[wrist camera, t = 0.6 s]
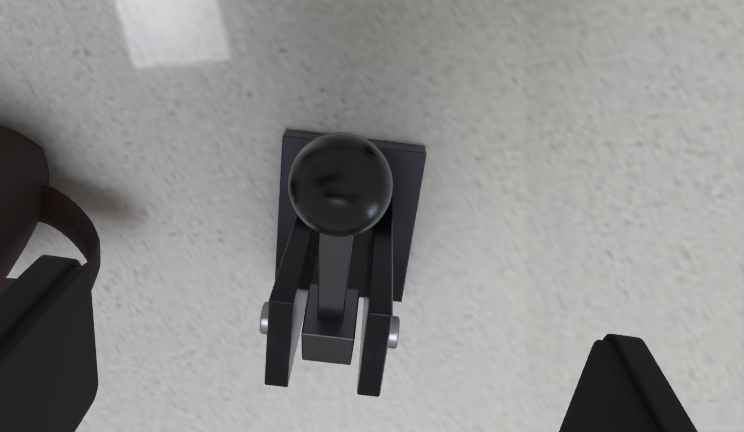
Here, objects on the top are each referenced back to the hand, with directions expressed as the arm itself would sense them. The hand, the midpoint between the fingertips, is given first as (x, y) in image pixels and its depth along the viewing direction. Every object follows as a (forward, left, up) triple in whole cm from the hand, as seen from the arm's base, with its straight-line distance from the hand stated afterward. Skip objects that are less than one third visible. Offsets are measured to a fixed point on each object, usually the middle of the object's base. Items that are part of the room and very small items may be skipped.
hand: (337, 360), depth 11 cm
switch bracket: (+9, +2, -24) cm, 25 cm away
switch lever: (+4, +1, -12) cm, 12 cm away
